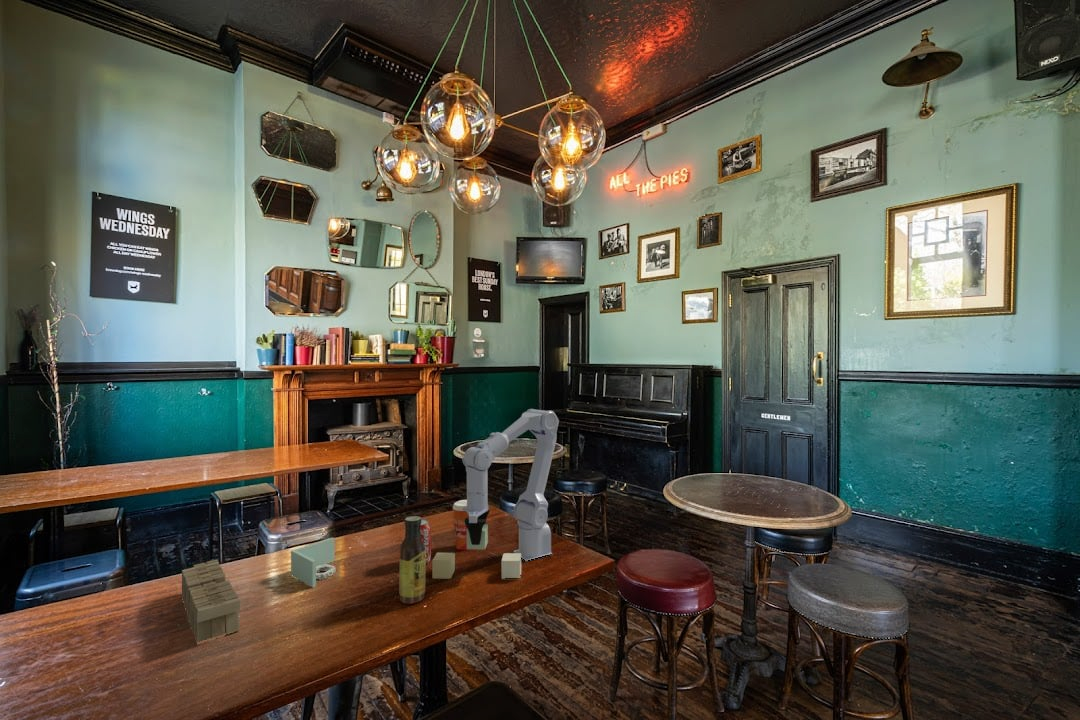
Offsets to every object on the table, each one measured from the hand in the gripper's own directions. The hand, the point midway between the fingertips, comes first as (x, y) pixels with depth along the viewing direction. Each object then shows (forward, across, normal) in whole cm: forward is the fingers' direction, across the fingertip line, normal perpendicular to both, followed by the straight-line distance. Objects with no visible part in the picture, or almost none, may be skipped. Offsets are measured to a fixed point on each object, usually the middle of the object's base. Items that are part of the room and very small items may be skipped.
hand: (477, 540), depth 128 cm
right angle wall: (+10, 0, -43) cm, 44 cm away
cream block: (+10, 0, +9) cm, 13 cm away
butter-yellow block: (+10, 0, -9) cm, 13 cm away
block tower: (+10, +22, -60) cm, 64 cm away
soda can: (+10, -7, -19) cm, 22 cm away
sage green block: (+1, 0, 0) cm, 1 cm away
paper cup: (+10, -19, -7) cm, 23 cm away
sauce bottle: (+10, +14, -14) cm, 22 cm away
